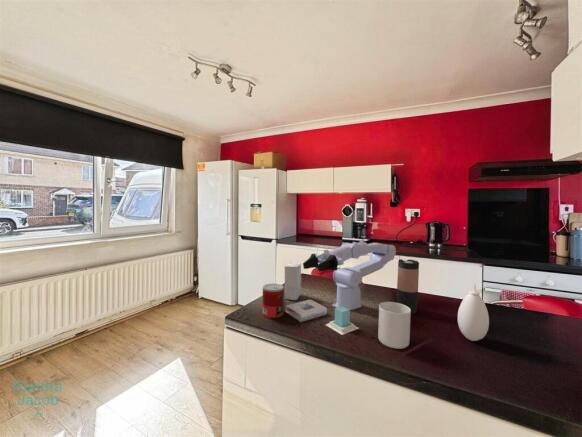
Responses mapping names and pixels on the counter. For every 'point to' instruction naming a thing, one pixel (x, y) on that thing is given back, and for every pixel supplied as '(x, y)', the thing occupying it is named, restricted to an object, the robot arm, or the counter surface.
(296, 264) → the skincare box
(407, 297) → the travel mug
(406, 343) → the mug
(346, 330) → the white square dish
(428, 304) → the counter surface
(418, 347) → the counter surface
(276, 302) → the canned food
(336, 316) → the plug
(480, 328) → the sauce bottle
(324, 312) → the port panel
